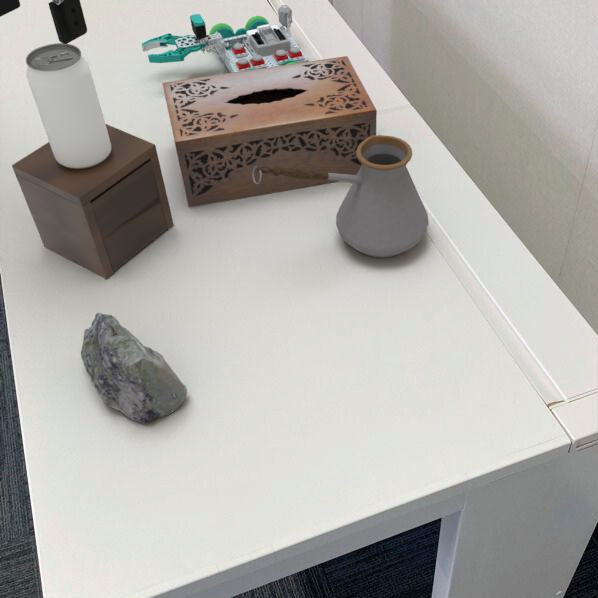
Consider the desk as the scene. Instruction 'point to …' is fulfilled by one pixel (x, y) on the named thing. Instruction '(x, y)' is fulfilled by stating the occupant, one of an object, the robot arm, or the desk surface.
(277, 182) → the tissue box cover
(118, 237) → the wooden drawer cube
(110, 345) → the mineral rock
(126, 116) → the desk surface
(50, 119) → the can
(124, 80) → the desk surface
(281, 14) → the robot kit
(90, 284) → the desk surface
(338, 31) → the desk surface
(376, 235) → the coffee pot
